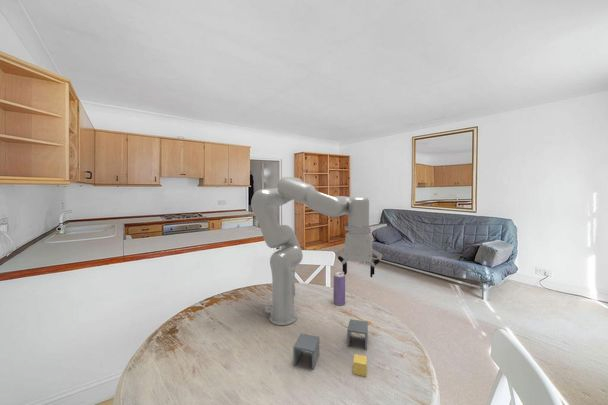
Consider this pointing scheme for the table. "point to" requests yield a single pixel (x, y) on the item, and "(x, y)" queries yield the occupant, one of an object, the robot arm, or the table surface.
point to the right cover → (357, 330)
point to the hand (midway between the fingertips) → (358, 274)
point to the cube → (360, 365)
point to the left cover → (306, 347)
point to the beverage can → (339, 288)
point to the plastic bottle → (293, 276)
